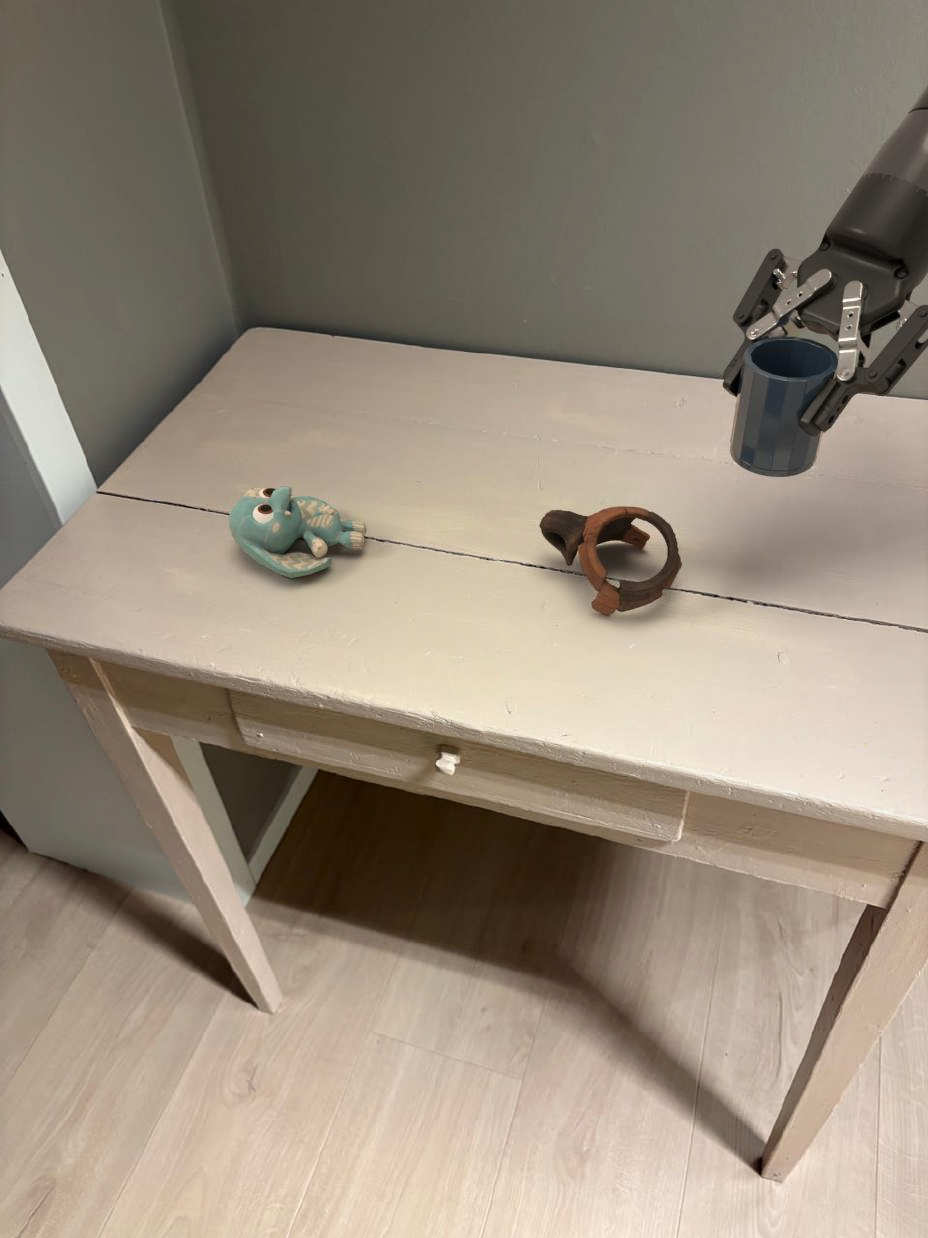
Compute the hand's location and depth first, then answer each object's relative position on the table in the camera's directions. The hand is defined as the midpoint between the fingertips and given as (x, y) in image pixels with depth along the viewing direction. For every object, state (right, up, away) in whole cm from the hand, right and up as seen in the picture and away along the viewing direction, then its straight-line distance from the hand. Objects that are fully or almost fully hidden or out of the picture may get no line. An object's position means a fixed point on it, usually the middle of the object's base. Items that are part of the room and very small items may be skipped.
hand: (767, 410), depth 70 cm
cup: (+2, -2, +4) cm, 5 cm away
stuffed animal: (-37, -9, +17) cm, 41 cm away
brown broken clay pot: (-10, -12, +12) cm, 19 cm away
